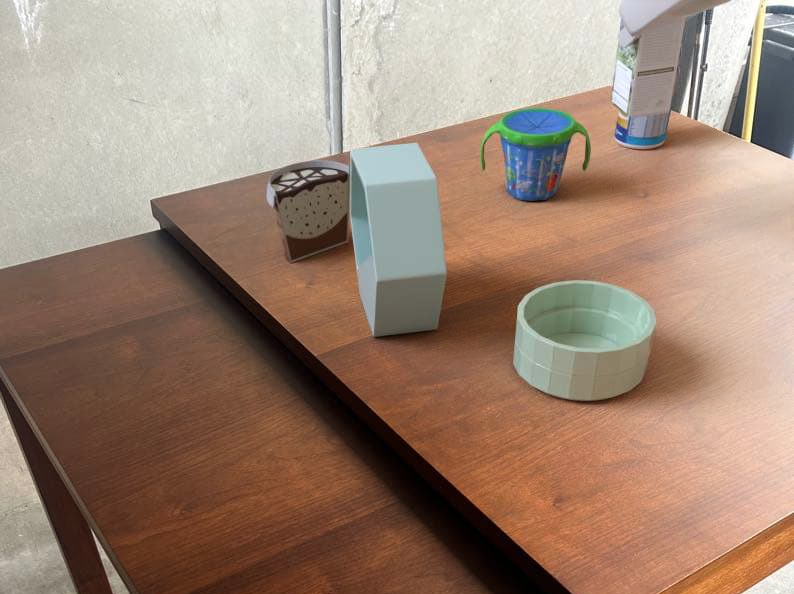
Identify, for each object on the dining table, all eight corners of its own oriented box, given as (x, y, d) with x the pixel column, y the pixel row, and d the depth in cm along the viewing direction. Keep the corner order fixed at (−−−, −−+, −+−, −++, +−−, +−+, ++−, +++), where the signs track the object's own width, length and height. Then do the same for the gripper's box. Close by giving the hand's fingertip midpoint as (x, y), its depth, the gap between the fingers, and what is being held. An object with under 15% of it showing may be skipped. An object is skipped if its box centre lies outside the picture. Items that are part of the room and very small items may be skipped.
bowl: (640, 334, 100) (650, 283, 96) (649, 408, 90) (661, 355, 86) (515, 328, 102) (519, 277, 97) (510, 400, 92) (515, 347, 87)
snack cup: (474, 204, 126) (477, 131, 118) (483, 174, 133) (487, 104, 126) (583, 211, 123) (593, 137, 116) (586, 181, 130) (596, 109, 123)
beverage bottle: (645, 155, 136) (671, 11, 122) (602, 141, 141) (622, 0, 127) (676, 140, 140) (705, -1, 126) (633, 127, 145) (656, -11, 131)
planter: (365, 339, 109) (342, 166, 105) (425, 332, 110) (405, 160, 106) (382, 334, 93) (357, 128, 88) (453, 325, 94) (431, 121, 89)
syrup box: (671, 113, 107) (696, -24, 96) (626, 119, 106) (647, -19, 95) (650, 97, 110) (673, -36, 100) (607, 103, 110) (625, -31, 99)
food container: (332, 223, 122) (327, 151, 115) (357, 239, 119) (353, 165, 112) (257, 249, 117) (246, 175, 110) (280, 266, 114) (271, 191, 107)
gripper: (781, -99, 94) (686, -11, 107) (668, -66, 85) (578, 26, 98) (806, -45, 95) (709, 37, 107) (697, -6, 86) (604, 78, 98)
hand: (646, 32), depth 102 cm, fingers closed on syrup box, 7 cm apart
